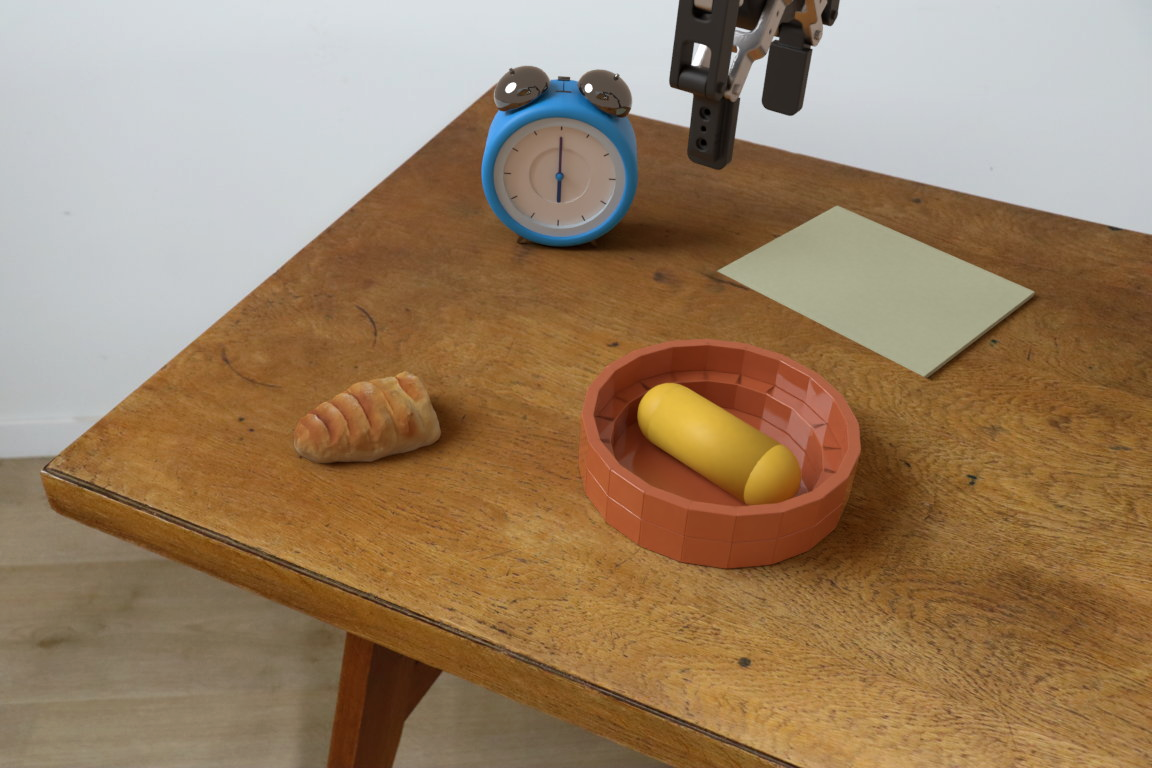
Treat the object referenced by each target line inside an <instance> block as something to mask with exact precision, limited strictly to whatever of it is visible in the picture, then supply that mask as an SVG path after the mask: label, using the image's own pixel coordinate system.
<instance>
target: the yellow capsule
mask: <svg viewBox="0 0 1152 768" xmlns="http://www.w3.org/2000/svg"><path fill="white" fill-rule="evenodd" d="M637 419H638V424H639V427H640V429H641V431H642V433H643V435H644V436H645V437H646V438H647V439H648V440H649V441H650V442H651V443H653V444H654V445H656V446H657V447H659V448H660V449H662V450H663V451H665V452H667V453H668V454H670V455H671V456H673V457H674V458H676V459H677V460H679V461H680V462H682V463H684V464H685V465H687V466H688V467H690V468H691V469H693V470H694V471H696V472H697V473H699V474H701V475H702V476H704V477H705V478H707V479H708V480H710V481H711V482H713V483H714V484H716V485H718V486H719V487H721V488H722V489H724V490H725V491H727V492H728V493H730V494H732V495H733V496H735V497H736V498H738V499H739V500H741V501H742V502H744V503H745V504H747V505H749V506H751V505H763V504H776V503H780V502H783V501H786V500H789V499H791V498H794V496H795V495H796V493H797V492H798V490H799V487H800V483H801V468H800V465H799V462H798V460H797V458H796V456H795V455H794V454H793V453H792V452H791V450H790V449H788V448H787V447H786V446H784V445H783V444H781V443H779V442H778V441H776V440H774V439H773V438H771V437H769V436H768V435H766V434H764V433H762V432H761V431H759V430H757V429H756V428H754V427H752V426H751V425H749V424H747V423H746V422H744V421H742V420H741V419H739V418H737V417H736V416H734V415H732V414H731V413H729V412H727V411H726V410H724V409H722V408H721V407H719V406H717V405H716V404H714V403H712V402H710V401H709V400H707V399H705V398H704V397H702V396H700V395H699V394H697V393H695V392H694V391H692V390H690V389H689V388H687V387H685V386H682V385H680V384H676V383H665V384H661V385H657V386H655V387H654V388H652V389H651V390H649V391H648V392H647V393H646V394H645V395H644V397H643V398H642V400H641V402H640V404H639V407H638V414H637Z"/></svg>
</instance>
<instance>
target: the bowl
mask: <svg viewBox="0 0 1152 768" xmlns="http://www.w3.org/2000/svg"><path fill="white" fill-rule="evenodd" d="M665 383H676V384H680V385H682V386H685V387H687V388H689V389H690V390H692V391H694V392H695V393H697V394H699V395H700V396H702V397H704V398H705V399H707V400H709V401H710V402H712V403H714V404H716V405H717V406H719V407H721V408H722V409H724V410H726V411H727V412H729V413H731V414H732V415H734V416H736V417H737V418H739V419H741V420H742V421H744V422H746V423H747V424H749V425H751V426H752V427H754V428H756V429H757V430H759V431H761V432H762V433H764V434H766V435H768V436H769V437H771V438H773V439H774V440H776V441H778V442H779V443H781V444H783V445H784V446H786V447H787V448H788V449H790V450H791V452H792V453H793V454H794V455H795V456H796V458H797V460H798V462H799V465H800V468H801V483H800V487H799V490H798V492H797V493H796V495H795V496H794V498H791V499H789V500H786V501H783V502H780V503H776V504H763V505H751V506H749V505H747V504H745V503H744V502H742V501H741V500H739V499H738V498H736V497H735V496H733V495H732V494H730V493H728V492H727V491H725V490H724V489H722V488H721V487H719V486H718V485H716V484H714V483H713V482H711V481H710V480H708V479H707V478H705V477H704V476H702V475H701V474H699V473H697V472H696V471H694V470H693V469H691V468H690V467H688V466H687V465H685V464H684V463H682V462H680V461H679V460H677V459H676V458H674V457H673V456H671V455H670V454H668V453H667V452H665V451H663V450H662V449H660V448H659V447H657V446H656V445H654V444H653V443H651V442H650V441H649V440H648V439H647V438H646V437H645V436H644V435H643V433H642V431H641V429H640V427H639V424H638V419H637V414H638V407H639V404H640V402H641V400H642V398H643V397H644V395H645V394H646V393H647V392H648V391H649V390H651V389H652V388H654V387H655V386H657V385H661V384H665ZM581 409H582V410H581V414H580V428H579V429H580V430H579V446H578V463H577V465H578V470H579V474H580V478H581V482H582V488H583V491H584V494H585V495H586V497H587V499H588V500H589V501H590V502H591V504H592V505H593V507H594V508H595V509H596V511H597V512H598V513H599V515H600V516H601V517H602V518H603V520H604V521H605V522H606V523H607V525H609V526H611V527H612V528H613V529H615V530H616V531H618V532H619V533H621V534H622V535H624V537H626V538H628V539H629V540H630V541H631V542H633V543H634V544H636V545H637V546H639V547H641V548H644V549H646V550H649V551H652V552H654V553H656V554H659V555H662V556H664V557H666V558H669V559H671V560H675V561H677V562H680V563H684V564H685V563H686V564H691V565H698V566H704V567H711V568H717V569H718V568H719V569H726V570H727V569H738V568H740V569H741V568H750V567H760V566H771V565H775V564H778V563H780V562H783V561H785V560H788V559H791V558H793V557H796V556H799V555H802V554H805V553H807V552H809V551H811V550H812V549H813V548H815V546H817V545H818V544H819V543H820V542H821V541H823V540H824V539H825V538H827V536H829V535H830V534H832V532H833V531H834V530H836V528H837V527H838V524H839V522H840V520H841V518H842V515H843V514H844V511H845V509H846V507H847V505H848V502H849V500H850V499H849V498H850V495H851V491H852V487H853V483H854V479H855V476H856V471H857V469H858V465H859V461H860V457H861V452H862V445H861V432H860V423H859V421H858V419H857V417H856V416H855V413H854V412H853V410H852V409H851V407H850V404H849V403H848V402H847V400H846V398H845V396H844V395H843V394H842V393H841V392H840V391H838V390H837V389H836V388H835V387H834V386H833V385H832V384H831V383H829V382H828V381H827V379H826V378H824V377H823V376H822V375H821V374H820V373H818V372H816V371H814V370H813V369H811V368H809V367H808V366H805V365H803V364H802V363H800V362H798V361H796V360H794V359H793V358H791V357H788V356H787V355H785V354H783V353H779V352H775V351H773V350H769V349H767V348H763V347H759V346H757V345H754V344H750V343H746V342H738V341H731V340H723V339H714V338H696V339H693V338H692V339H678V340H668V341H663V342H660V343H656V344H652V345H649V346H644V347H642V348H637V349H633V350H632V351H630V352H628V353H626V354H625V355H622V356H621V357H619V358H618V359H616V360H614V361H612V362H611V363H609V364H607V365H606V366H605V367H604V368H603V369H602V371H601V372H600V373H599V374H598V375H597V377H595V379H594V380H593V381H592V383H590V385H589V386H588V387H587V389H586V393H585V397H584V401H583V405H582V408H581Z"/></svg>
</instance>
